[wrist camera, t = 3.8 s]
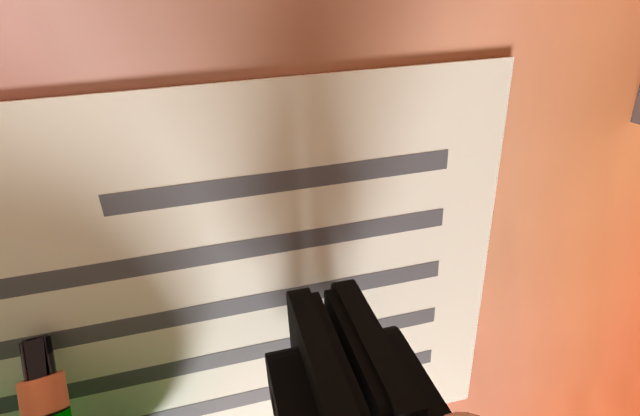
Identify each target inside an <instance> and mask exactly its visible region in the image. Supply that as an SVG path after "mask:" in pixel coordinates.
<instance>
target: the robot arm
mask: <svg viewBox="0 0 640 416" xmlns="http://www.w3.org/2000/svg"><path fill="white" fill-rule="evenodd" d="M286 300H287V311H288V322H289V333H290V344H291V348H287V349H282V350H278V351H273V352H268V353H265V363H266V371H267V378H268V385H269V392H270V398H271V404H272V409H273V415H274V416H479V415H476V414H472V413H468V412H454V413H452V412H451V411H450V409H449V408H448V406H447V404H446V403H445V401H444V400H443V398H442V396H441V395H440V393H439V392H438V390H437V388H436V387H435V385H434V383H433V382H432V380H431V379H430V377H429V375H428V374H427V372H426V371H425V369H424V367H423V366H422V364H421V363H420V361H419V359H418V358H417V356H416V355H415V353H414V351H413V350H412V348H411V347H410V345H409V343H408V342H407V340H406V338H405V337H404V335H403V334H402V332H401V331H400V329H399V328H398V327H396V326H390V327H386V328H382V326H381V325H380V323H379V321H378V319H377V318H376V316H375V314H374V312H373V311H372V309H371V307H370V305H369V304H368V302H367V300H366V298H365V297H364V295H363V293H362V291H361V290H360V288H359V286H358V284H357V283H356V281H355V280H354V279H350V280H344V281H339V282H334V283H331V289H329V290H325V291H324V303H323V300H322V298H321V296H320V294H319V292H313V293H311V290H310V288H309V287H307V288H301V289H296V290H291V291H287V292H286Z"/></svg>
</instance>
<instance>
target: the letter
mask: <svg viewBox="0 0 640 416" xmlns="http://www.w3.org/2000/svg"><path fill="white" fill-rule="evenodd" d="M513 63H514V57H512V56H511V57H500V58H488V59H477V60H466V61H454V62H443V63H432V64H420V65H409V66H398V67H386V68H375V69H363V70H352V71H341V72H329V73H318V74H307V75H295V76H284V77H273V78H261V79H250V80H238V81H227V82H216V83H204V84H193V85H182V86H170V87H159V88H147V89H136V90H125V91H113V92H102V93H91V94H79V95H68V96H57V97H45V98H34V99H22V100H11V101H0V416H20V413H19V406H18V399H17V392H16V383H18V382H20V381H22V380H24V378H23V371H22V364H21V358H20V351H19V344H18V343H19V342H20V341H21V340H25V339H29V338H33V337H38V336H42V335H46V334H50V335H51V339H52V345H53V351H54V358H55V364H56V370H57V371H58V370H65V375H66V381H67V387H68V393H69V400H70V405H69V406H70V407H71V413H72V416H274V415H273V409H272V404H271V398H270V392H269V385H268V378H267V371H266V363H265V353H268V352H273V351H278V350H282V349H287V348H291V344H290V333H289V322H288V311H287V300H286V292H287V291H291V290H296V289H301V288H307V287H309V288H310V290H311V293H313V292H319V294H320V296H321V298H322V300H323V303H324V291H325V290H329V289H331V283H334V282H339V281H344V280H350V279H354V280H355V281H356V283H357V284H358V286H359V288H360V290H361V291H362V293H363V295H364V297H365V298H366V300H367V302H368V304H369V305H370V307H371V309H372V311H373V312H374V314H375V316H376V318H377V319H378V321H379V323H380V325H381V326H382V328H386V327H390V326H396V327H398V328H399V329H400V331H401V332H402V334H403V335H404V337H405V338H406V340H407V342H408V343H409V345H410V347H411V348H412V350H413V351H414V353H415V355H416V356H417V358H418V359H419V361H420V363H421V364H422V366H423V367H424V369H425V371H426V372H427V374H428V375H429V377H430V379H431V380H432V382H433V383H434V385H435V387H436V388H437V390H438V392H439V393H440V395H441V396H442V398H443V400H444V401H445V403H446V404H447V403H451V402H455V401H459V400H463V399H467V398H468V391H469V384H470V377H471V369H472V362H473V355H474V347H475V340H476V333H477V326H478V318H479V311H480V304H481V296H482V289H483V282H484V275H485V267H486V260H487V253H488V245H489V238H490V231H491V224H492V216H493V209H494V202H495V194H496V187H497V180H498V173H499V165H500V158H501V151H502V143H503V136H504V129H505V122H506V114H507V107H508V100H509V92H510V85H511V78H512V71H513Z"/></svg>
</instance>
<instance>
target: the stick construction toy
mask: <svg viewBox="0 0 640 416" xmlns="http://www.w3.org/2000/svg"><path fill="white" fill-rule="evenodd" d="M18 344H19V351H20V358H21V364H22V371H23V378H24V380H22V381H20V382H18V383H16V392H17V399H18V406H19V413H20V416H72V413H71V407H70V406H69V405H70V400H69V393H68V387H67V381H66V375H65V370H58V371H57V370H56V364H55V358H54V351H53V345H52V339H51V335H50V334H46V335H42V336H38V337H33V338H29V339H25V340H21V341H20V342H19V343H18Z"/></svg>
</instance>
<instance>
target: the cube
mask: <svg viewBox="0 0 640 416" xmlns="http://www.w3.org/2000/svg"><path fill="white" fill-rule="evenodd" d="M630 122H633V123H636V124H640V86H639V90H638V94H637V98H636V102H635V106H634V109H633V113H632V117H631V121H630Z"/></svg>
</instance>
